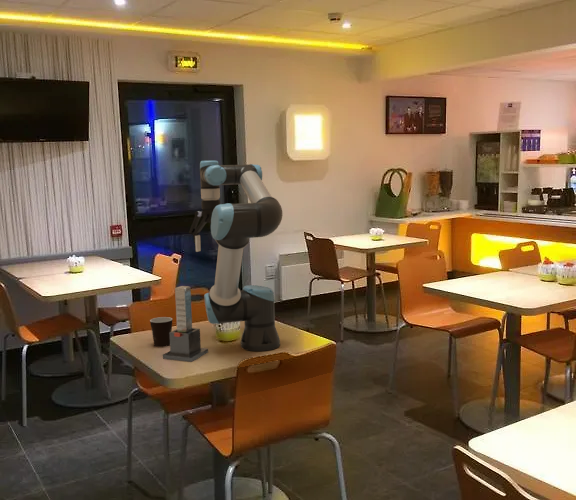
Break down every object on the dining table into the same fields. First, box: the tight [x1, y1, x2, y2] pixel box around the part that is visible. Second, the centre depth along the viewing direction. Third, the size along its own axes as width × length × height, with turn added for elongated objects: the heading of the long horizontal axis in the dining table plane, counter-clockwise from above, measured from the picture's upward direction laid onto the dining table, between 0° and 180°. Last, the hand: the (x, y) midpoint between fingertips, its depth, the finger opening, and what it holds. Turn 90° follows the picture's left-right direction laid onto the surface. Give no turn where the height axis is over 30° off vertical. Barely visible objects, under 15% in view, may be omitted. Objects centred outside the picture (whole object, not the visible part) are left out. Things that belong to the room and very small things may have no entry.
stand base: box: [162, 327, 209, 363], centre depth 228 cm, size 12×12×10 cm
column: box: [174, 285, 193, 333], centre depth 226 cm, size 4×4×18 cm
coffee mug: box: [149, 316, 173, 348], centre depth 244 cm, size 12×9×10 cm
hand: (212, 252), depth 251 cm, fingers open, 13 cm apart
